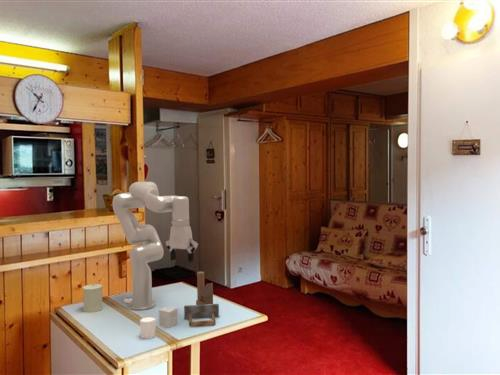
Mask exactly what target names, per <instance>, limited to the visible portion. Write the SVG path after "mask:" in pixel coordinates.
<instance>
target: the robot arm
mask: <svg viewBox="0 0 500 375" xmlns="http://www.w3.org/2000/svg"><path fill="white" fill-rule="evenodd" d="M158 188H159V187H158V186H157V184H156V182H153V181H136V182H133V183H131V185H130V186H129V187H128V192H122V193H118V194H115V196H113V199H112V210H113V212H114V215H115V216H116V218H117V220H118V221H119V223H120V226H121V228H122V231H123V234H124V237H125V238H126V241H127V242H128V244H129V245H134V246H132V248H130V250H129V260H130V264H131V279H132V280H131V281H132V284H131V285H132V297H130V298H124V299H123V303H124V304H125V305H129V309H131V310H134V311H145V310H149V309H152V308H154V307H155V306H156V302H155V301H153V291H152V290H153V289H152V288H153V286H152V285H153V284H152V283H153V282H152V280H153V279H152V278H153V277H152V270H151V267H150V265H149V264H148V263H152V262H156V261H160V260H161V259H163V256H164V255H165V254H164V247H163V244H162V241H161V239H160V236H159V234H158V232H157V230H156V228H155V227H154V226H153V225H152V224H140V223H139V220H138V218H137V217H136V216H137V215H135V214H134V213H133V212H132V211H131V210H130V209H140V208H141V209H142V208H144V207H146V208H147V210H149V211H152V212H154V213H159V214H160V213H161V214H162V213H169V212H170V213H172V214H171V216H172V220H171V221H170V223H171V224H172V226H170V232H169V239H168V240H166V241H165V246H166V248H167V249H168V251H169V254H170V261H175V260H177V251H176V250H187V252H188V253H187V262H188V263H192V262H194V253H195V251H196V250H197V248H198V246H199V243H198V242H197V241H195V240H193V232H192V228H191V226H190V206H189V205H190V204H189V202H190V199H189V197H188V196H184V195H183V196H180V195H161V196H160V193H159V192H160V191H159V189H158Z"/></svg>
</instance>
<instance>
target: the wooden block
mask: <svg viewBox="0 0 500 375" xmlns="http://www.w3.org/2000/svg"><path fill="white" fill-rule="evenodd" d="M196 279H197V280H196V284H197V286H196V287H197V290H196V292H197V296H196V297H197V299H196V300H195V305H204V304H214V283H213V282H211V283H210V282H209V283H206V284H205V271H197V272H196Z"/></svg>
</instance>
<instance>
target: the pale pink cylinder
mask: <svg viewBox="0 0 500 375" xmlns="http://www.w3.org/2000/svg"><path fill="white" fill-rule="evenodd" d="M156 325H157V317H154V316H145V317H142V318H140V319H139V326H140V327H139V328H140V334H141V335H140V336H141V338H142V339H146V340H147V339H152V338H155V336H156V329H157V326H156Z"/></svg>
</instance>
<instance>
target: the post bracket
mask: <svg viewBox="0 0 500 375" xmlns="http://www.w3.org/2000/svg"><path fill="white" fill-rule="evenodd" d="M219 305H220V304H219V303H213V304H204V305H196V304H191V305H189V304H188V305H184V306H183V307H184V308H183V316H184V320H188V322H189V327H190V328H199V327H200V328H201V327H213V326H215V325H216V318H220V316H219V315H220V313H219V312H220V307H219ZM198 319H206V320H198ZM207 319H208V320H207Z"/></svg>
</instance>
